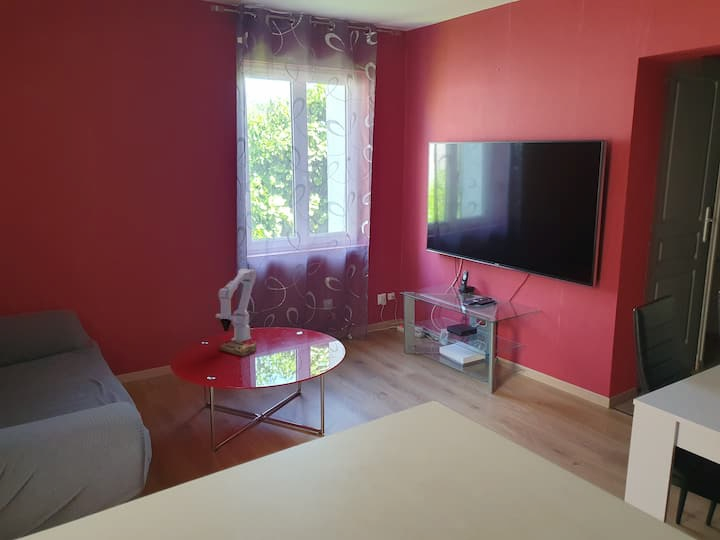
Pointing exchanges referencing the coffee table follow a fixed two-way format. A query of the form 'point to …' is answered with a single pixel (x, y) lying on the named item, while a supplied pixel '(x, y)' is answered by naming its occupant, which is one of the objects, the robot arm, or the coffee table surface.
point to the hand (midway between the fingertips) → (226, 330)
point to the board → (238, 348)
